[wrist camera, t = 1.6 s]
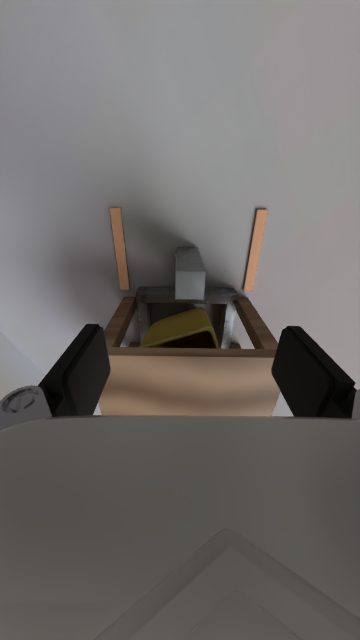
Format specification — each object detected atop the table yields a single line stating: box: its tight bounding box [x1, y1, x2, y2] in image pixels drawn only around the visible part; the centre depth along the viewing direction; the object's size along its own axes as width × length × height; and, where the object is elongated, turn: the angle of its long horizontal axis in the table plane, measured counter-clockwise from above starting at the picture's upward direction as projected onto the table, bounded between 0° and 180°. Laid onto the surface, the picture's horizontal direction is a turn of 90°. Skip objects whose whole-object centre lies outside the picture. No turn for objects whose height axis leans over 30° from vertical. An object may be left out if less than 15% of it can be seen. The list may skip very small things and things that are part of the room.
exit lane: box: [110, 208, 268, 292], centre depth 27 cm, size 10×18×1 cm, turn 89°
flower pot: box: [138, 308, 220, 349], centre depth 29 cm, size 9×9×9 cm
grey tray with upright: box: [136, 247, 238, 349], centre depth 26 cm, size 18×13×10 cm
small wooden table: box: [98, 297, 280, 416], centre depth 27 cm, size 10×18×13 cm, turn 89°
